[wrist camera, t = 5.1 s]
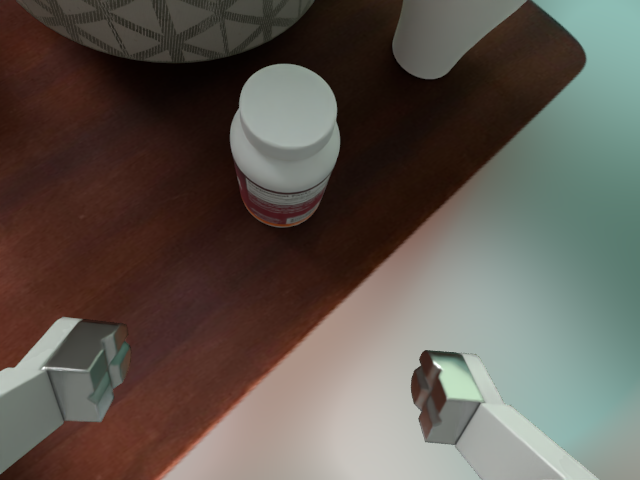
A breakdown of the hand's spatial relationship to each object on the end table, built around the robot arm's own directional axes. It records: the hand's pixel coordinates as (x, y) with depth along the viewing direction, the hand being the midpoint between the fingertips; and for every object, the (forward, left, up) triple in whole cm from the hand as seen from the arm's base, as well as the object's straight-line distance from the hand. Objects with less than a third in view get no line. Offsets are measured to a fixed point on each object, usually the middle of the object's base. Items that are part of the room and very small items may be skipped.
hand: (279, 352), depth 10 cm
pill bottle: (+10, -5, -15) cm, 19 cm away
